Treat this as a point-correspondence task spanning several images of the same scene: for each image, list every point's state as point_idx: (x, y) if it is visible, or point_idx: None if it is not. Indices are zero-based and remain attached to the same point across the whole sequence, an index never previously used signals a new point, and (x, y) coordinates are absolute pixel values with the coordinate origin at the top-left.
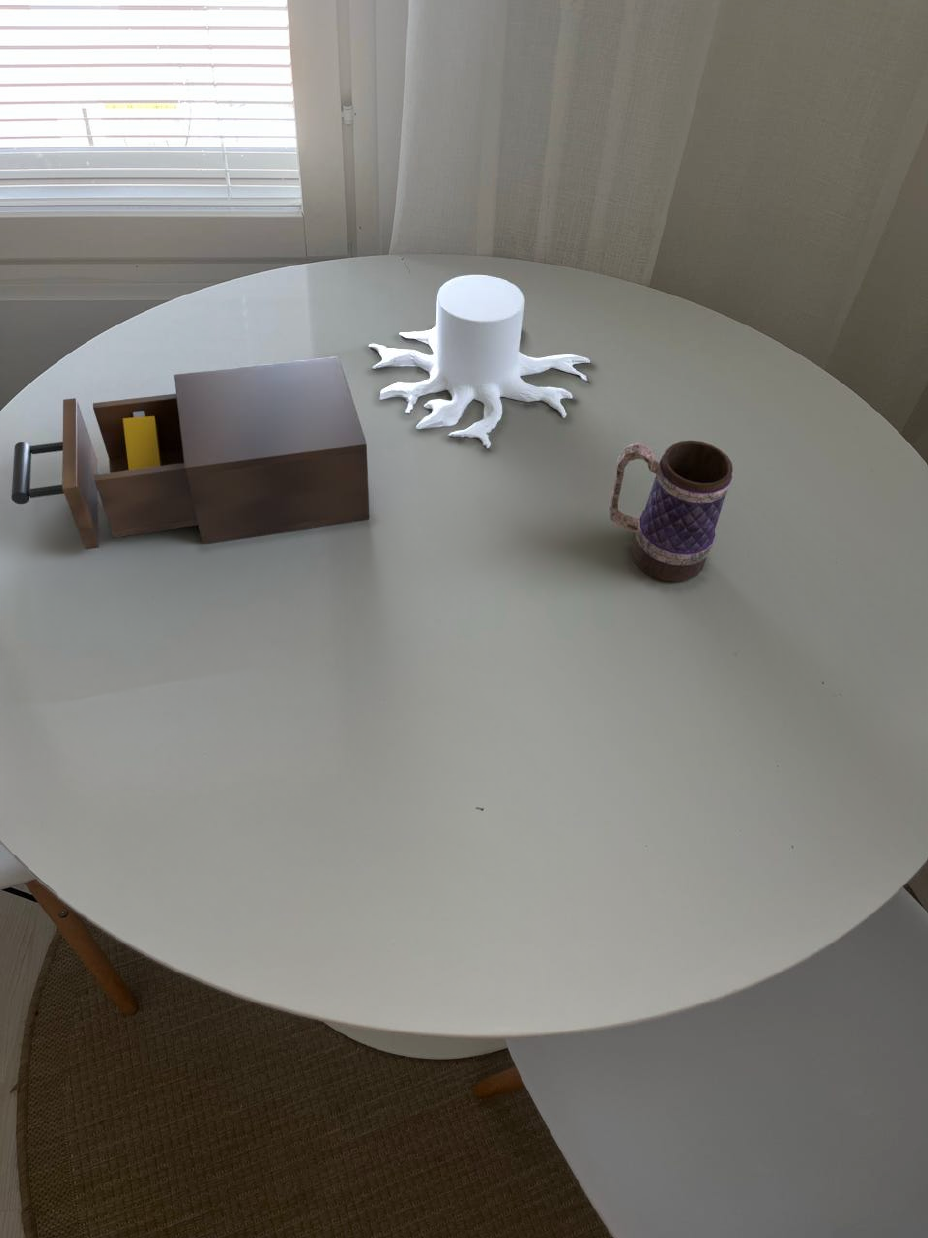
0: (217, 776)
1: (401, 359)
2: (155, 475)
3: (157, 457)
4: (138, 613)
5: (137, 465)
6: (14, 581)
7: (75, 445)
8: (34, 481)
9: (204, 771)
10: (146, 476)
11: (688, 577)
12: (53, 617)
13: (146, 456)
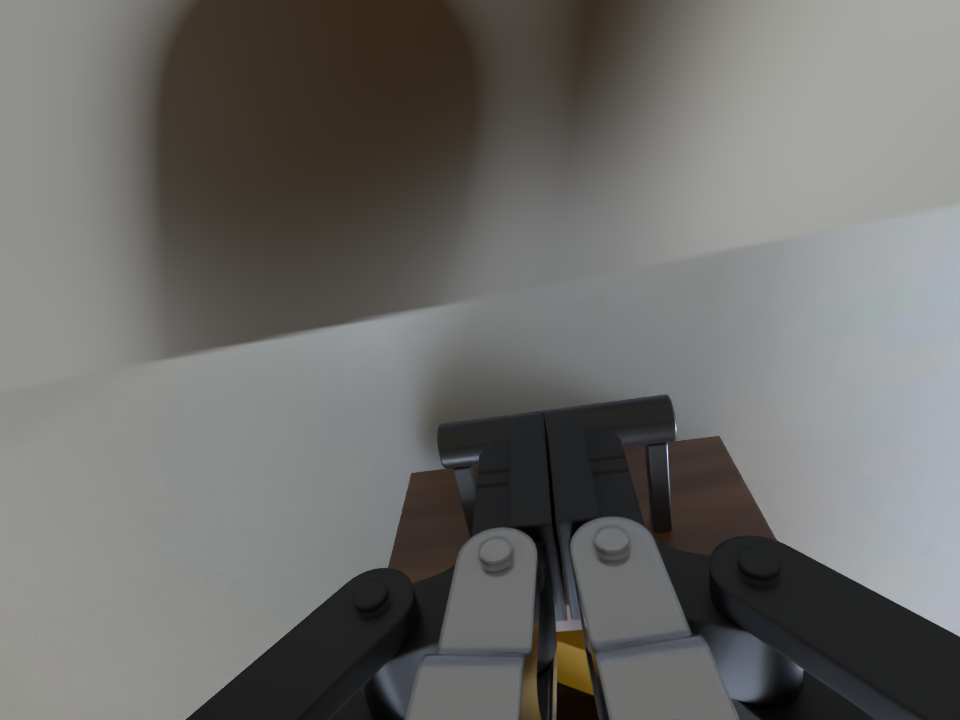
0: (7, 645)
1: None
2: None
3: (577, 686)
4: (277, 546)
5: (556, 652)
6: (338, 334)
7: (556, 630)
8: (686, 314)
9: (9, 633)
10: None
11: None
12: (248, 421)
13: (579, 673)
